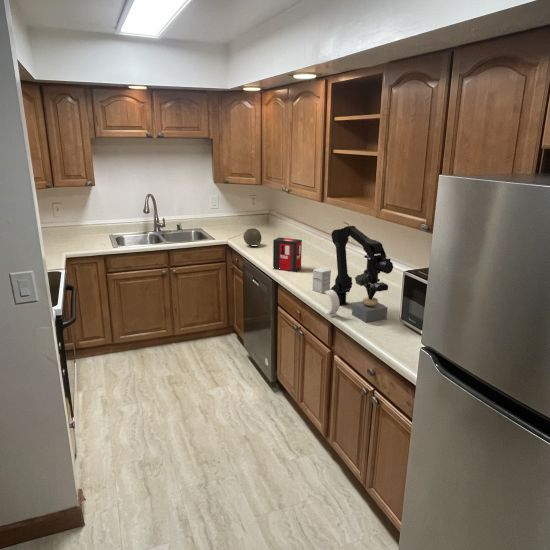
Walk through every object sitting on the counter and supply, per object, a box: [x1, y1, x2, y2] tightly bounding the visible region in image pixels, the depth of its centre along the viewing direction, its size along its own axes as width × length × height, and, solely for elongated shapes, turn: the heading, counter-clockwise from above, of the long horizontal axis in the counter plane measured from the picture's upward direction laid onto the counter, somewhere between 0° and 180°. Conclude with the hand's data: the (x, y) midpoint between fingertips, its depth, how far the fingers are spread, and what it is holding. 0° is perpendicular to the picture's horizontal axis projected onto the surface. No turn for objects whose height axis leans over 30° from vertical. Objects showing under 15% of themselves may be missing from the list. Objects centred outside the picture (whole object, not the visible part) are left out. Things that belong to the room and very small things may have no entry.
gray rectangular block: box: [351, 300, 388, 324], centre depth 219 cm, size 12×14×6 cm
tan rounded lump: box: [362, 296, 379, 306], centre depth 217 cm, size 7×7×6 cm
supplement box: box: [312, 267, 332, 294], centre depth 255 cm, size 7×7×13 cm
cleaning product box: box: [272, 236, 303, 273], centre depth 296 cm, size 16×9×20 cm, turn 65°
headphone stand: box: [323, 289, 340, 318], centre depth 219 cm, size 5×6×12 cm
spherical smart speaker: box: [242, 227, 262, 246], centre depth 358 cm, size 14×14×15 cm
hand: (370, 299), depth 216 cm, fingers closed, pressing on tan rounded lump
